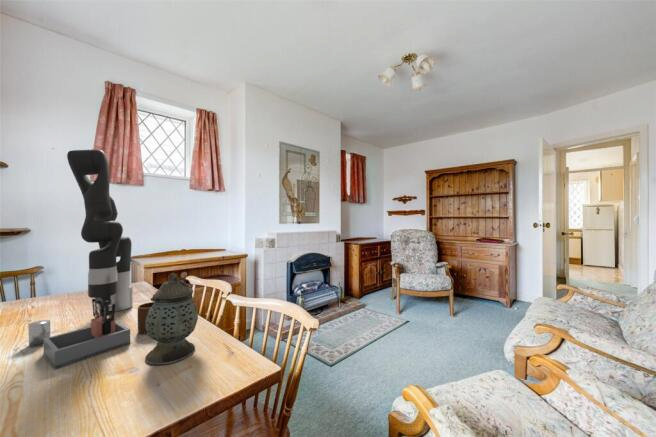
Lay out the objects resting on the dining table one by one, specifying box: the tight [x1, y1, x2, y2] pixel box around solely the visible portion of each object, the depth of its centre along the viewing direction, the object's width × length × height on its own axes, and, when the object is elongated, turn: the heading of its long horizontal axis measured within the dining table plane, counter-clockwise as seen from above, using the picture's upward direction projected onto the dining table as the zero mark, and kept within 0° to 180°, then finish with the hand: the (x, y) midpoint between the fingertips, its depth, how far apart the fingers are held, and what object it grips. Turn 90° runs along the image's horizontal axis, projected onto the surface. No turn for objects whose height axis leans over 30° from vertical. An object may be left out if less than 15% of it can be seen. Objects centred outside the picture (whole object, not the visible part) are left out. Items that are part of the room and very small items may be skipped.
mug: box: [137, 301, 155, 335], centre depth 100 cm, size 12×8×9 cm, turn 59°
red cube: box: [90, 316, 116, 338], centre depth 90 cm, size 5×5×5 cm
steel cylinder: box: [27, 319, 51, 348], centre depth 91 cm, size 5×5×7 cm
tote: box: [42, 320, 131, 370], centre depth 87 cm, size 18×14×5 cm
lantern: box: [144, 272, 199, 367], centre depth 84 cm, size 14×14×25 cm
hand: (103, 331), depth 90 cm, fingers closed on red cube, 5 cm apart
